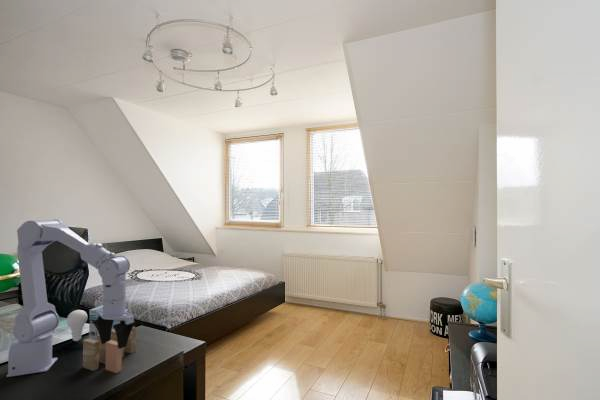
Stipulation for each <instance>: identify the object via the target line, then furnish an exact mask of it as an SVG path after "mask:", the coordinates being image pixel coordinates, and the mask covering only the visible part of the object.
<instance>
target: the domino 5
mask: <svg viewBox="0 0 600 400" xmlns="http://www.w3.org/2000/svg"><path fill="white" fill-rule="evenodd" d="M124 353H128V354H133V353H136V326H133V328H132V330H131V332H130V335H129V338H128V342H127V346H125V347H124Z"/></svg>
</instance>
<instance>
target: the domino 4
mask: <svg viewBox="0 0 600 400" xmlns="http://www.w3.org/2000/svg"><path fill="white" fill-rule="evenodd" d="M122 360H123V357H122V348H121V349H119V348H118V343H117V342H116V341H113V340H110V341H107V342H106V364H104V365H105V366H104V367H105V371H109V372H111V373H114V374H118V373H120V372H122V370H123V364H122V363H123V361H122Z"/></svg>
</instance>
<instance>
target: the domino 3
mask: <svg viewBox="0 0 600 400" xmlns="http://www.w3.org/2000/svg"><path fill="white" fill-rule="evenodd" d="M111 336H112V340H113V341H116V342H117V335H116V332H115V329H113V330H111ZM122 358H125V352H124V347H123V348H122Z"/></svg>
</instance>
